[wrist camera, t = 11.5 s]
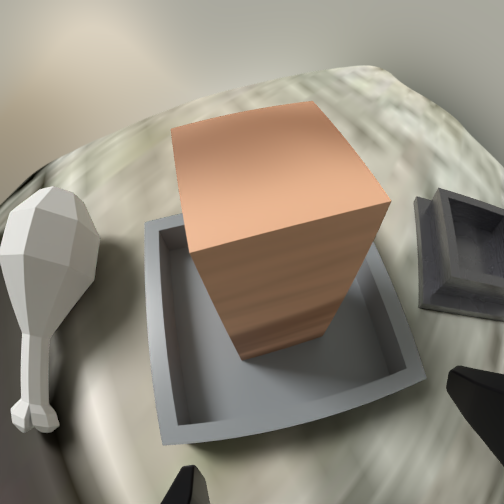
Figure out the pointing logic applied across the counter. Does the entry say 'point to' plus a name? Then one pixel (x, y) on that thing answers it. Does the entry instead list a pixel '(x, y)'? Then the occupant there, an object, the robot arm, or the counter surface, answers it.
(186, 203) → the block
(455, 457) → the counter surface
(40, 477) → the counter surface
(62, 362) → the counter surface
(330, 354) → the tray
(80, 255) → the chicken leg
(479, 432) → the robot arm
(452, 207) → the grey square base plate
